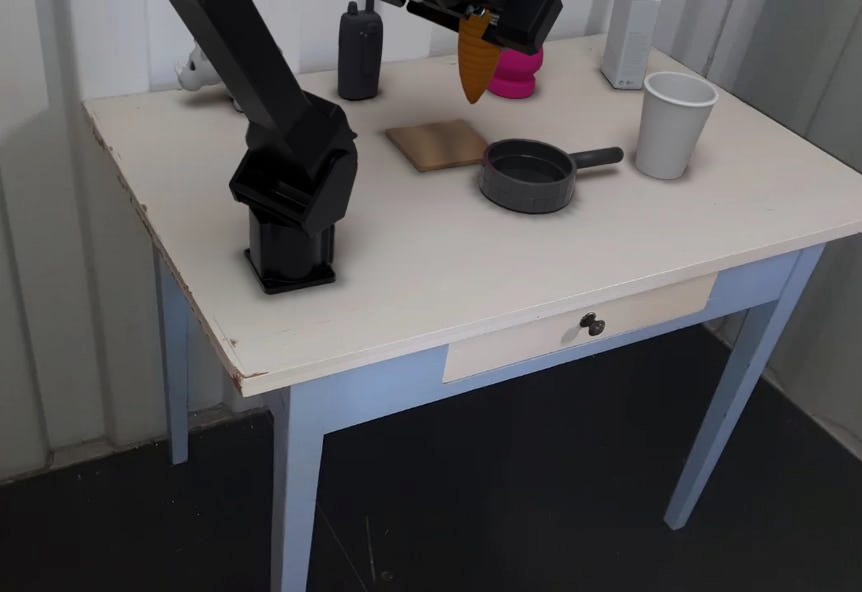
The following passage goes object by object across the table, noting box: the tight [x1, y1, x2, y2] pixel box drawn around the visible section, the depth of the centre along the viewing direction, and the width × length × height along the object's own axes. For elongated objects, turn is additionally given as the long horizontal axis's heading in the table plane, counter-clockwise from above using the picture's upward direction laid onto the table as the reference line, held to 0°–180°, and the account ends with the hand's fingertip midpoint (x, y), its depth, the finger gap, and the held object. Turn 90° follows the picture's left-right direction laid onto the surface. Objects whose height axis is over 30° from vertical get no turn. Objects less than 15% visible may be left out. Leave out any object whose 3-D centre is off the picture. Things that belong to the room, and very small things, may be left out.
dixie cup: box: [634, 70, 720, 180], centre depth 104 cm, size 8×8×10 cm
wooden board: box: [384, 119, 490, 173], centre depth 104 cm, size 10×9×1 cm
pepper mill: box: [487, 44, 544, 99], centre depth 113 cm, size 7×7×20 cm
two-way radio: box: [337, 0, 384, 100], centre depth 107 cm, size 6×4×15 cm
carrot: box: [457, 8, 502, 106], centre depth 95 cm, size 5×5×15 cm
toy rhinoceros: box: [173, 38, 284, 112], centre depth 103 cm, size 7×12×8 cm, turn 117°
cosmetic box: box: [600, 0, 662, 90], centre depth 122 cm, size 6×4×12 cm
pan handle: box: [567, 146, 625, 170], centre depth 101 cm, size 8×2×2 cm, turn 119°
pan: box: [478, 137, 578, 214], centre depth 98 cm, size 10×10×4 cm
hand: (487, 39), depth 96 cm, fingers closed on carrot, 5 cm apart
